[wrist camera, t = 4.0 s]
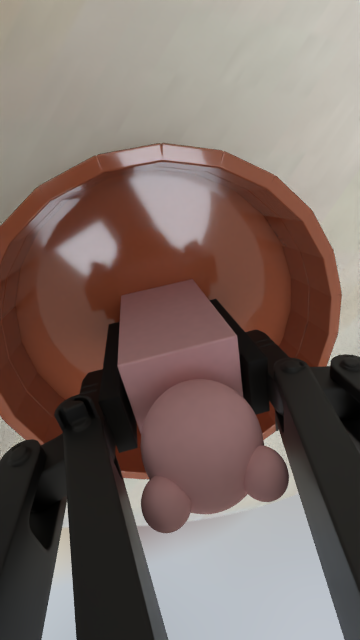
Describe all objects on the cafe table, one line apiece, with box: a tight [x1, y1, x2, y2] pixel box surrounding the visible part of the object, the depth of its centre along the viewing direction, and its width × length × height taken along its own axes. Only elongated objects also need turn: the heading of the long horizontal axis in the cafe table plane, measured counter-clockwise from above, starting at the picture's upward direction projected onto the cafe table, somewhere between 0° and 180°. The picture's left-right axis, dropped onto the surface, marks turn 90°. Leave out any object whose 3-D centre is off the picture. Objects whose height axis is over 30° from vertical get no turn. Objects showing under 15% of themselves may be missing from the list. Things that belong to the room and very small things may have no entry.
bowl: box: [0, 143, 342, 479], centre depth 16 cm, size 18×18×4 cm
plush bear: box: [117, 279, 289, 533], centre depth 12 cm, size 5×4×12 cm
